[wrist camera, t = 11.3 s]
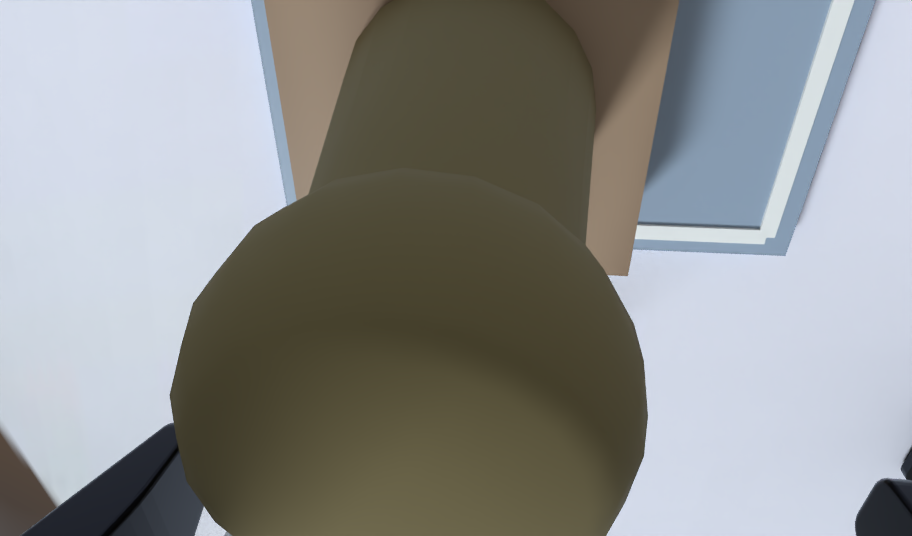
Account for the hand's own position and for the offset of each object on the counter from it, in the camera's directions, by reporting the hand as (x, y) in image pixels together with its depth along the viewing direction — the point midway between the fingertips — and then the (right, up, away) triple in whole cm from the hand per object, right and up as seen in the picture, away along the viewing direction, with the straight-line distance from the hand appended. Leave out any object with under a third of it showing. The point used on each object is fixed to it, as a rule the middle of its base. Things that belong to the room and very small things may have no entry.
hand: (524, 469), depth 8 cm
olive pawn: (-1, +7, +7) cm, 9 cm away
